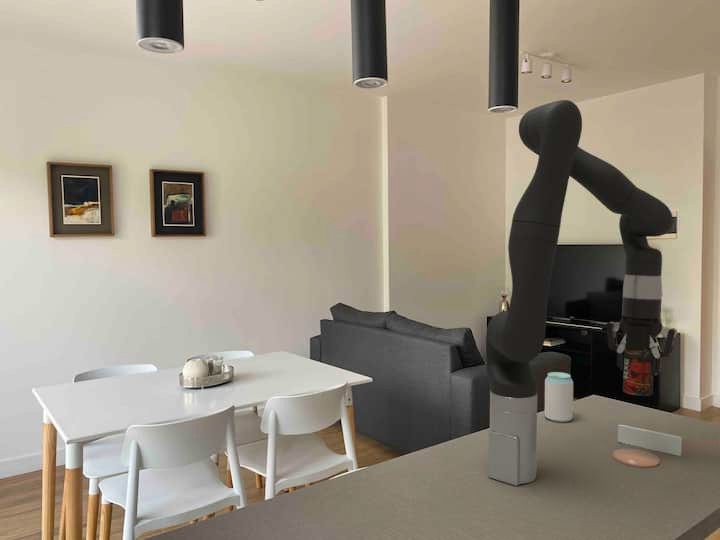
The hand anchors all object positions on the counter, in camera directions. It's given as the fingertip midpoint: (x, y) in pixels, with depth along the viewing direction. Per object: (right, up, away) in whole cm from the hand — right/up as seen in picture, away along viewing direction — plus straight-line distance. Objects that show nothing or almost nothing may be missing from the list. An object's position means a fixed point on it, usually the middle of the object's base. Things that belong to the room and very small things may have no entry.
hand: (638, 371), depth 120 cm
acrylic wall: (+5, -18, +5) cm, 20 cm away
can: (-8, -18, +26) cm, 32 cm away
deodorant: (0, -5, 0) cm, 5 cm away
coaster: (-1, -19, -1) cm, 19 cm away
